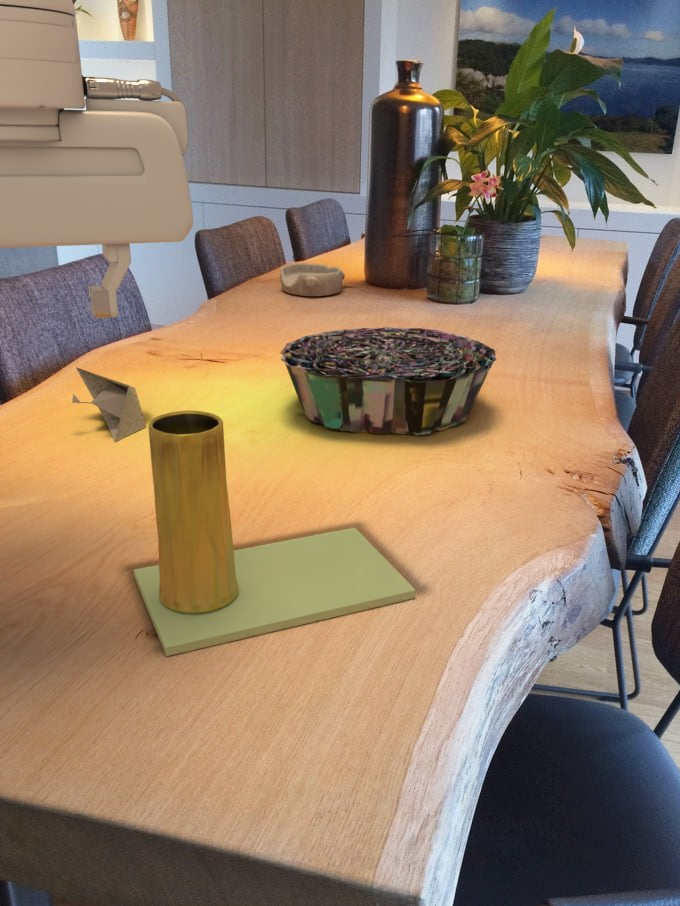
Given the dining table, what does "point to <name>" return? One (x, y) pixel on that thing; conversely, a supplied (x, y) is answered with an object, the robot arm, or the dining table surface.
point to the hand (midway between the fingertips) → (35, 320)
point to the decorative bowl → (387, 378)
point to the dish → (311, 279)
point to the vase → (192, 512)
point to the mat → (282, 590)
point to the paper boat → (114, 404)
